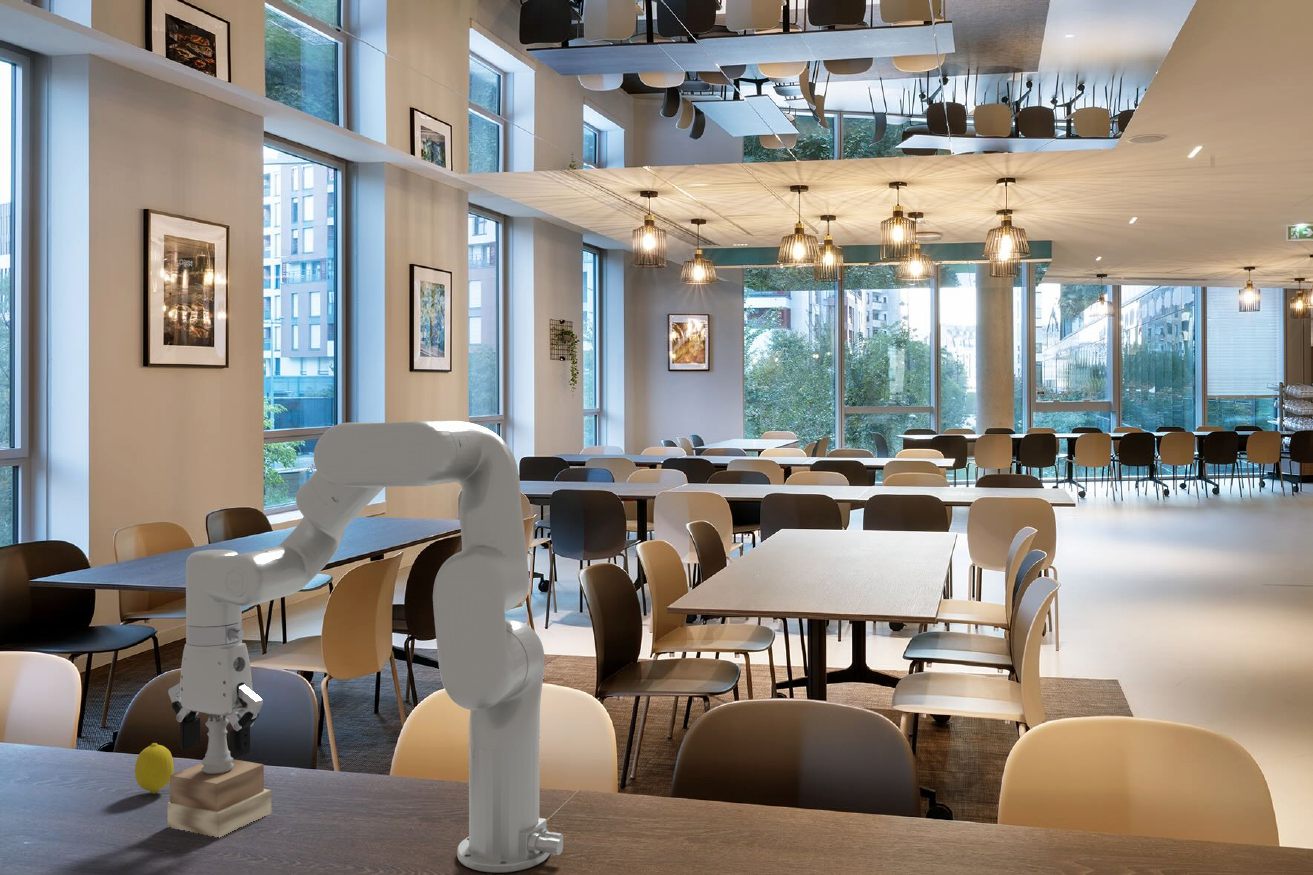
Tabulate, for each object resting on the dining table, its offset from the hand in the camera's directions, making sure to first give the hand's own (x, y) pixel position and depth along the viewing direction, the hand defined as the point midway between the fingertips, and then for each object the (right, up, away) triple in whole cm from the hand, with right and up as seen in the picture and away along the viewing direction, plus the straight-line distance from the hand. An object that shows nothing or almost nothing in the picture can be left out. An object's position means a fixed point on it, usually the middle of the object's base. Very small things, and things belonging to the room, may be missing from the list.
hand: (215, 750), depth 152 cm
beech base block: (0, -11, +1) cm, 11 cm away
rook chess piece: (0, -3, +1) cm, 3 cm away
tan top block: (0, -7, +1) cm, 7 cm away
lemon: (-15, -11, +12) cm, 22 cm away
